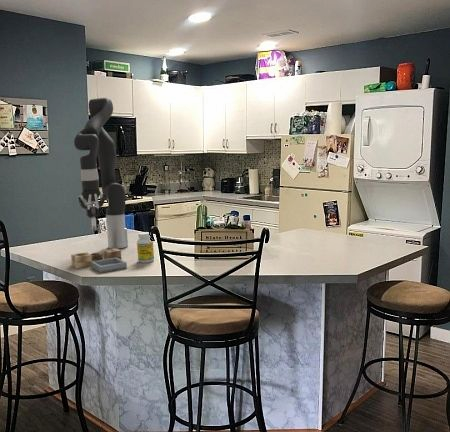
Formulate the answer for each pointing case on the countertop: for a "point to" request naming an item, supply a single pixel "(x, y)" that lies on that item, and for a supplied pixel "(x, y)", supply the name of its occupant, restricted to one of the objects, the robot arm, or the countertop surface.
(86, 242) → the countertop surface
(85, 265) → the block
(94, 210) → the pin gauge
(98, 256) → the pin stand
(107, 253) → the block
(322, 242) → the countertop surface
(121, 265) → the tray
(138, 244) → the supplement bottle
